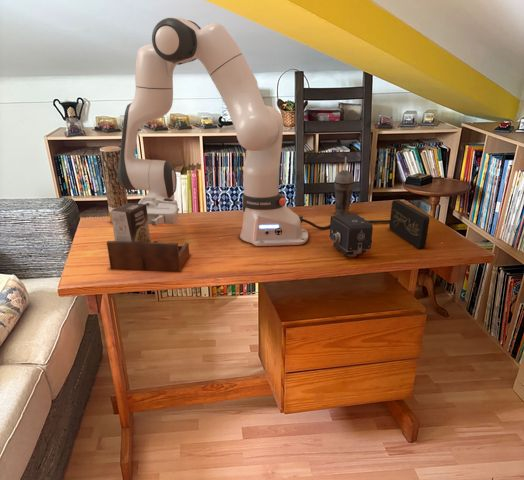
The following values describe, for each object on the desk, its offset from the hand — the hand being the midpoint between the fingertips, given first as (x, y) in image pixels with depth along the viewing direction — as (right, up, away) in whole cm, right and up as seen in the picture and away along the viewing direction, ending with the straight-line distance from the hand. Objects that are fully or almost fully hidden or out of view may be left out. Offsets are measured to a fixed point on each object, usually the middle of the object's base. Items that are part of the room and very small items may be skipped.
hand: (138, 222), depth 160 cm
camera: (+63, -8, +5) cm, 64 cm away
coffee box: (-1, -12, -1) cm, 12 cm away
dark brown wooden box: (+4, -12, -1) cm, 13 cm away
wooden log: (-14, +8, +33) cm, 36 cm away
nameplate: (+84, -2, +16) cm, 85 cm away
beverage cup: (+66, +13, +40) cm, 79 cm away
